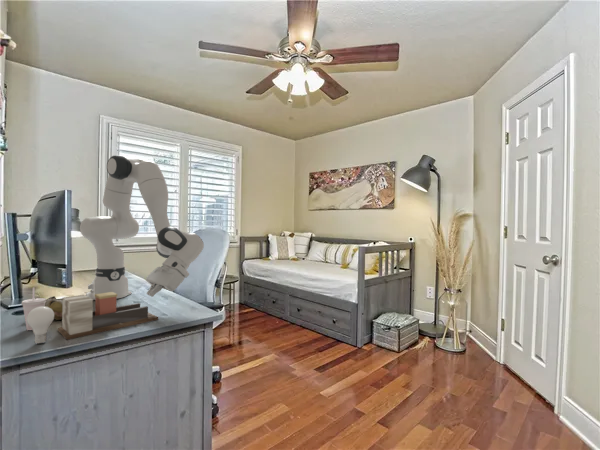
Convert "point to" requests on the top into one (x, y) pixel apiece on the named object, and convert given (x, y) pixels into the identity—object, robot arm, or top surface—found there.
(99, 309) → the plunger
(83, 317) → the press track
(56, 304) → the ceramic sculpture
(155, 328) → the top surface
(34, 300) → the smoothie
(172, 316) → the top surface
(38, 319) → the lightbulb
